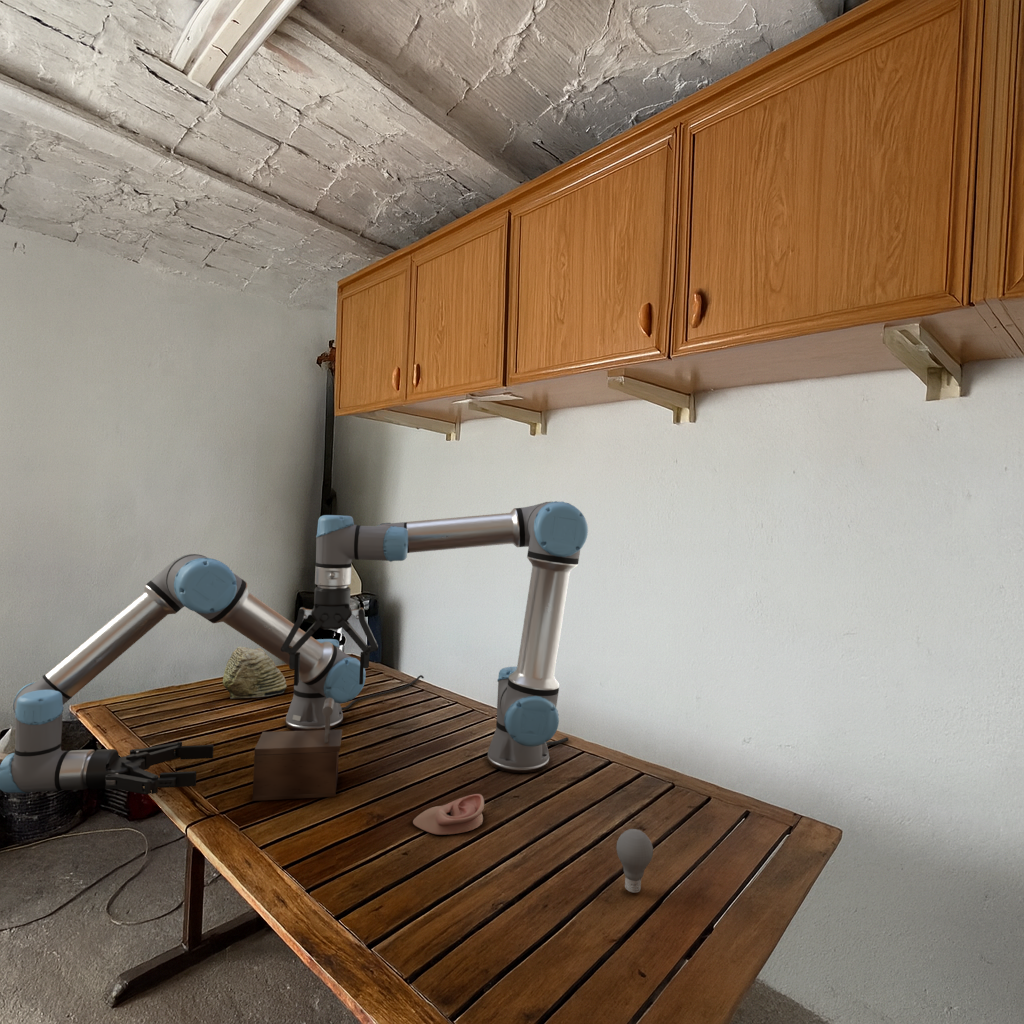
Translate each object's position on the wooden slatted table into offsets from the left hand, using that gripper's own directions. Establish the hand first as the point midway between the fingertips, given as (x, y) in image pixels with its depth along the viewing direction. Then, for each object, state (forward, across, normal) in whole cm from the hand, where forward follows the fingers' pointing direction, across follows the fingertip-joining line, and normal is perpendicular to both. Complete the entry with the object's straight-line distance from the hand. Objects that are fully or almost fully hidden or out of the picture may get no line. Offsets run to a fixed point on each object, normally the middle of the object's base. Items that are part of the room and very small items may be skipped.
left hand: (205, 764), depth 133 cm
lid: (+19, 0, +3) cm, 19 cm away
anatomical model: (+50, +18, -6) cm, 53 cm away
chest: (+19, 0, -6) cm, 20 cm away
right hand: (+25, 0, +17) cm, 30 cm away
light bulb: (+77, +45, -6) cm, 90 cm away
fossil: (-2, -67, -6) cm, 67 cm away
